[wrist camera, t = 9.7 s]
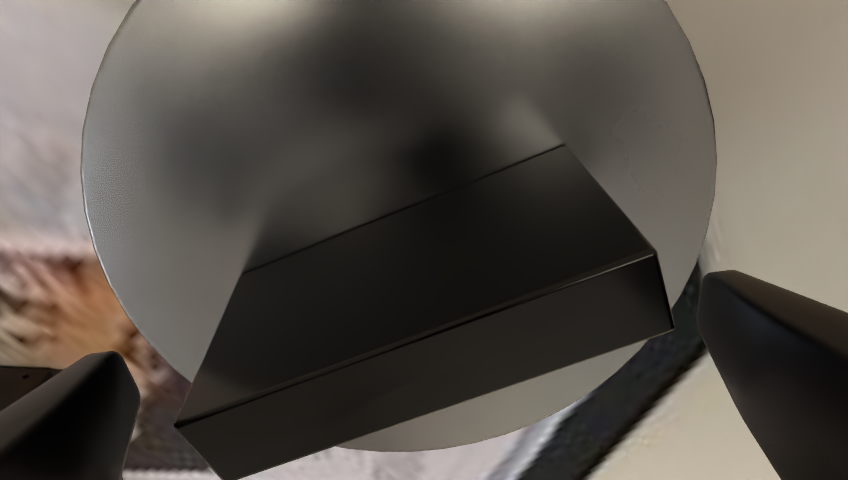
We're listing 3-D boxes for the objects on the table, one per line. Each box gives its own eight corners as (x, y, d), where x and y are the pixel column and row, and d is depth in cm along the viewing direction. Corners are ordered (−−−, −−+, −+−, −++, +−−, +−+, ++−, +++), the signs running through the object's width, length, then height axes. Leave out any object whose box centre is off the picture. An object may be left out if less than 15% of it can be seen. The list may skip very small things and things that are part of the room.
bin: (162, 232, 18) (-88, 558, 9) (255, -194, 13) (-116, -560, 3) (491, 332, 21) (577, 662, 12) (676, 15, 16) (1118, 134, 6)
